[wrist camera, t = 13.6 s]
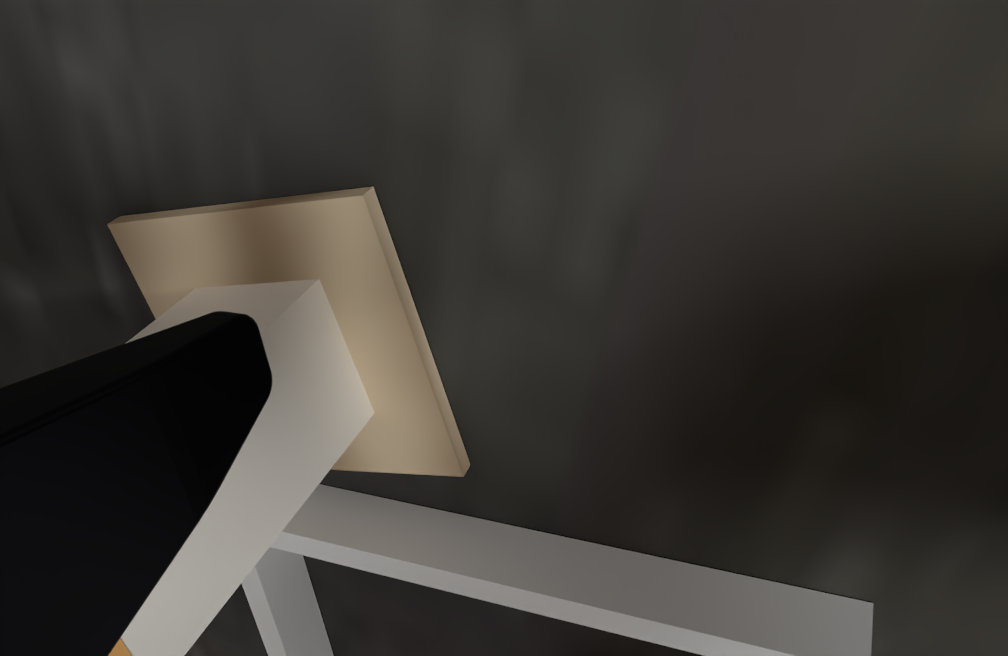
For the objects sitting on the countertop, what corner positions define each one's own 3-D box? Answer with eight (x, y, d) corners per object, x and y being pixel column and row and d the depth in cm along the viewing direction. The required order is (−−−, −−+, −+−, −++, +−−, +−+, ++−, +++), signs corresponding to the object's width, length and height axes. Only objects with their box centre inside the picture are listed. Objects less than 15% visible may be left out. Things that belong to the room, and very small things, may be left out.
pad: (373, 186, 24) (362, 195, 24) (470, 465, 29) (463, 476, 29) (119, 216, 29) (107, 224, 28) (239, 453, 33) (230, 464, 33)
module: (320, 277, 26) (-48, 619, 16) (376, 414, 28) (85, 786, 18) (193, 286, 28) (-198, 591, 18) (255, 413, 31) (-62, 744, 21)
